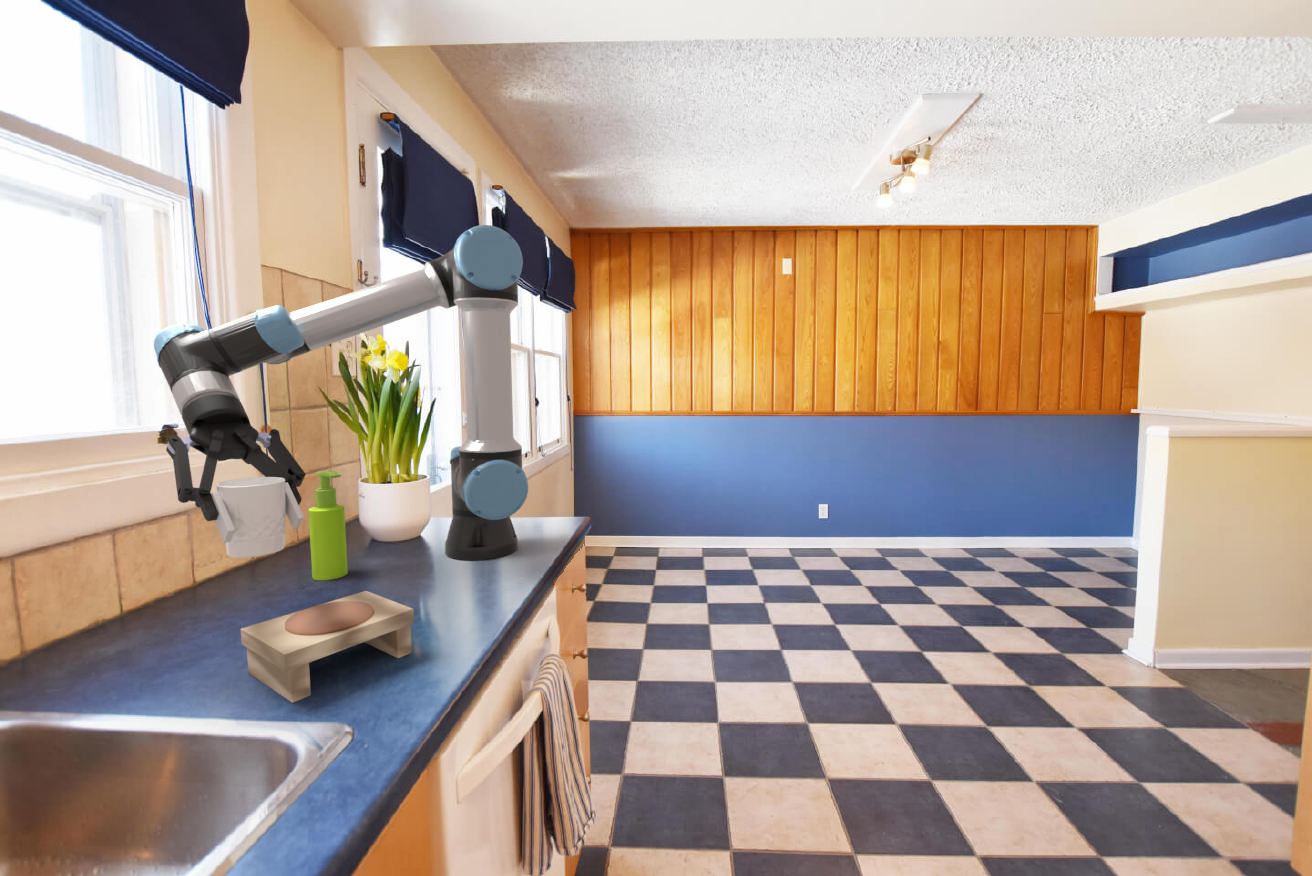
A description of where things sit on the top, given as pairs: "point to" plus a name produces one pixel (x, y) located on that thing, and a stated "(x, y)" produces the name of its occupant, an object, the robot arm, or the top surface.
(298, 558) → the top surface
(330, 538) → the soap dispenser
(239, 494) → the white cup
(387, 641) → the birch shelf
